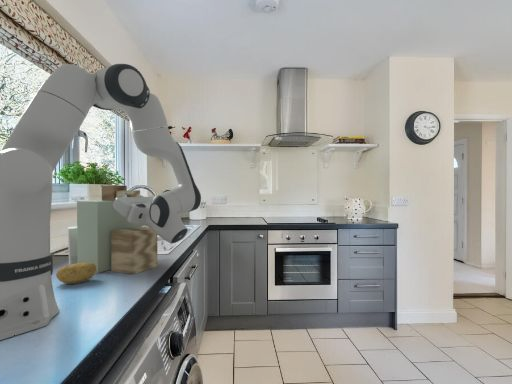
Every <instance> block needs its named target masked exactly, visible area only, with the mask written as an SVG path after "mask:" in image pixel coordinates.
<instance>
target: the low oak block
mask: <svg viewBox="0 0 512 384" xmlns="http://www.w3.org/2000/svg"><path fill="white" fill-rule="evenodd" d="M158 256H159V255H158V235H157V234H156V233H155V232H154V230H153V229H152V228H149V227H143V226H142V227H134V228H127V229H120V230H112V231H111V269H110V270H111V272H116V273H120V274H121V273H122V274H126V275H127V274H128V275H136V274H138V273H141V272H143V271H147V270H151V269H154V268H157V267H158V265H159V264H158Z"/></svg>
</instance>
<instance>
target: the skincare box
mask: <svg viewBox="0 0 512 384" xmlns="http://www.w3.org/2000/svg"><path fill="white" fill-rule="evenodd" d="M67 245H68V246H67V247H68V248H67V249H68V265H72V264H76V263H77V225H76V226H68V227H67Z"/></svg>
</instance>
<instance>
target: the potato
mask: <svg viewBox="0 0 512 384" xmlns="http://www.w3.org/2000/svg"><path fill="white" fill-rule="evenodd" d="M95 274H97V273H96V266H95V264H94V263H90V262H88V263H76V264H72V265H69V264H68V265H64V266H62V267H61V268H59V269H58V270H57V271H56V274H55V275H56V278H57V279H58V280H59V281H60V282H61V283H63V284H69V285H70V284H71V285H72V284H79V283H82V282H86V281H89V280H91V279H92V278H93V277H94V276H95Z"/></svg>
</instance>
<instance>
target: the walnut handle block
mask: <svg viewBox="0 0 512 384" xmlns="http://www.w3.org/2000/svg"><path fill="white" fill-rule="evenodd" d="M127 188H128V186H127V185H101V200H102V201H115V199H116V198H117V197H121V195H122V193H127V194H128V197H140V195H141V190H139V189H138V190H135V189H134V190H133V189H131V190H130V189H129V190H128V189H127Z"/></svg>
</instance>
